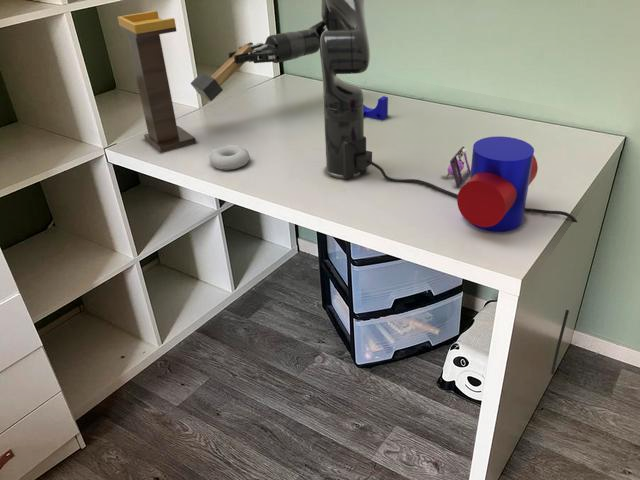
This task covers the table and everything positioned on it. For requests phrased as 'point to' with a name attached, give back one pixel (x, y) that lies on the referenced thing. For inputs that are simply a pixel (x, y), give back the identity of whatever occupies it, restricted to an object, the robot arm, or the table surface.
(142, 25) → the mustard tray
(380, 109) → the blue curved block
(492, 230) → the blue red crossed cylinders
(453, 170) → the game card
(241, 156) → the donut
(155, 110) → the walnut stand
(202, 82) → the toy hammer
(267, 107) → the table surface
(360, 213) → the table surface
